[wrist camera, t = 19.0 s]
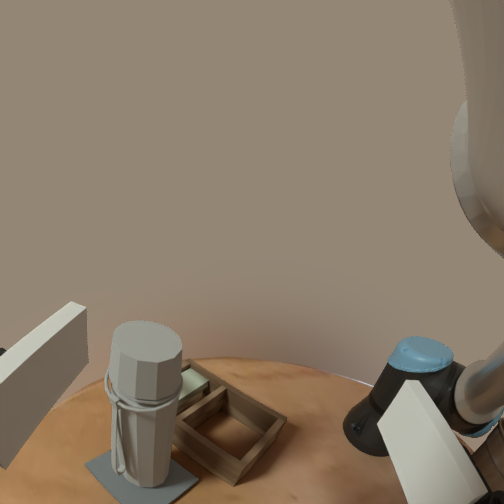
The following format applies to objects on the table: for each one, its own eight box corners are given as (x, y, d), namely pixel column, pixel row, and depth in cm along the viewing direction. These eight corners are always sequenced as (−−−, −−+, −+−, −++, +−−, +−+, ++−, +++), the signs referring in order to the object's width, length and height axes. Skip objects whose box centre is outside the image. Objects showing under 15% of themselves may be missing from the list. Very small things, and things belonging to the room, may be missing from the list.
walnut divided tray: (185, 379, 54) (189, 358, 52) (276, 437, 44) (287, 417, 43) (132, 408, 42) (132, 386, 40) (233, 486, 32) (242, 469, 30)
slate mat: (141, 435, 37) (141, 432, 36) (198, 480, 31) (199, 478, 31) (85, 465, 26) (84, 463, 26) (142, 523, 21) (142, 522, 21)
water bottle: (140, 443, 34) (147, 310, 28) (180, 472, 31) (206, 346, 25) (99, 471, 26) (74, 335, 20) (140, 507, 23) (134, 391, 17)
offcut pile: (185, 386, 52) (189, 367, 51) (204, 399, 50) (209, 380, 49) (149, 407, 44) (151, 387, 42) (169, 423, 41) (172, 404, 40)
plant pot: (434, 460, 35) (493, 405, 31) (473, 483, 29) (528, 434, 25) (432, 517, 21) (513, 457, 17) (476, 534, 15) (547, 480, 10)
